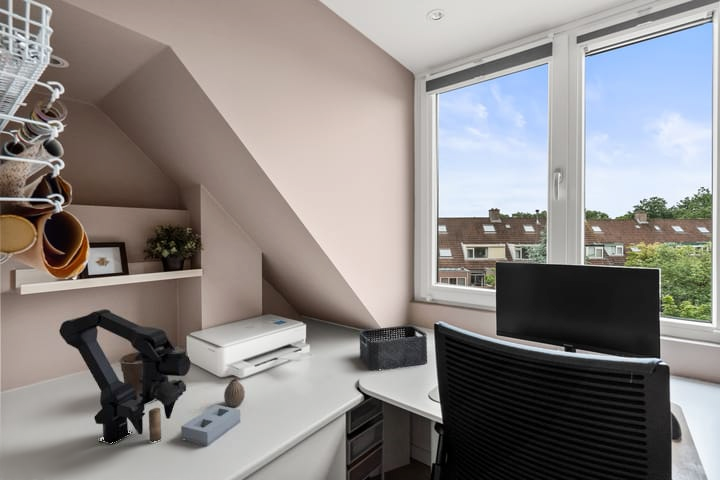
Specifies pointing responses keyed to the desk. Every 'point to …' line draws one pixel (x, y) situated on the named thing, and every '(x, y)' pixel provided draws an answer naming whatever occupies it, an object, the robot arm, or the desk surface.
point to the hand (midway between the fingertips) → (154, 426)
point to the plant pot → (132, 371)
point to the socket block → (210, 425)
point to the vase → (234, 393)
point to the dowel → (155, 424)
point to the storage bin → (393, 347)
